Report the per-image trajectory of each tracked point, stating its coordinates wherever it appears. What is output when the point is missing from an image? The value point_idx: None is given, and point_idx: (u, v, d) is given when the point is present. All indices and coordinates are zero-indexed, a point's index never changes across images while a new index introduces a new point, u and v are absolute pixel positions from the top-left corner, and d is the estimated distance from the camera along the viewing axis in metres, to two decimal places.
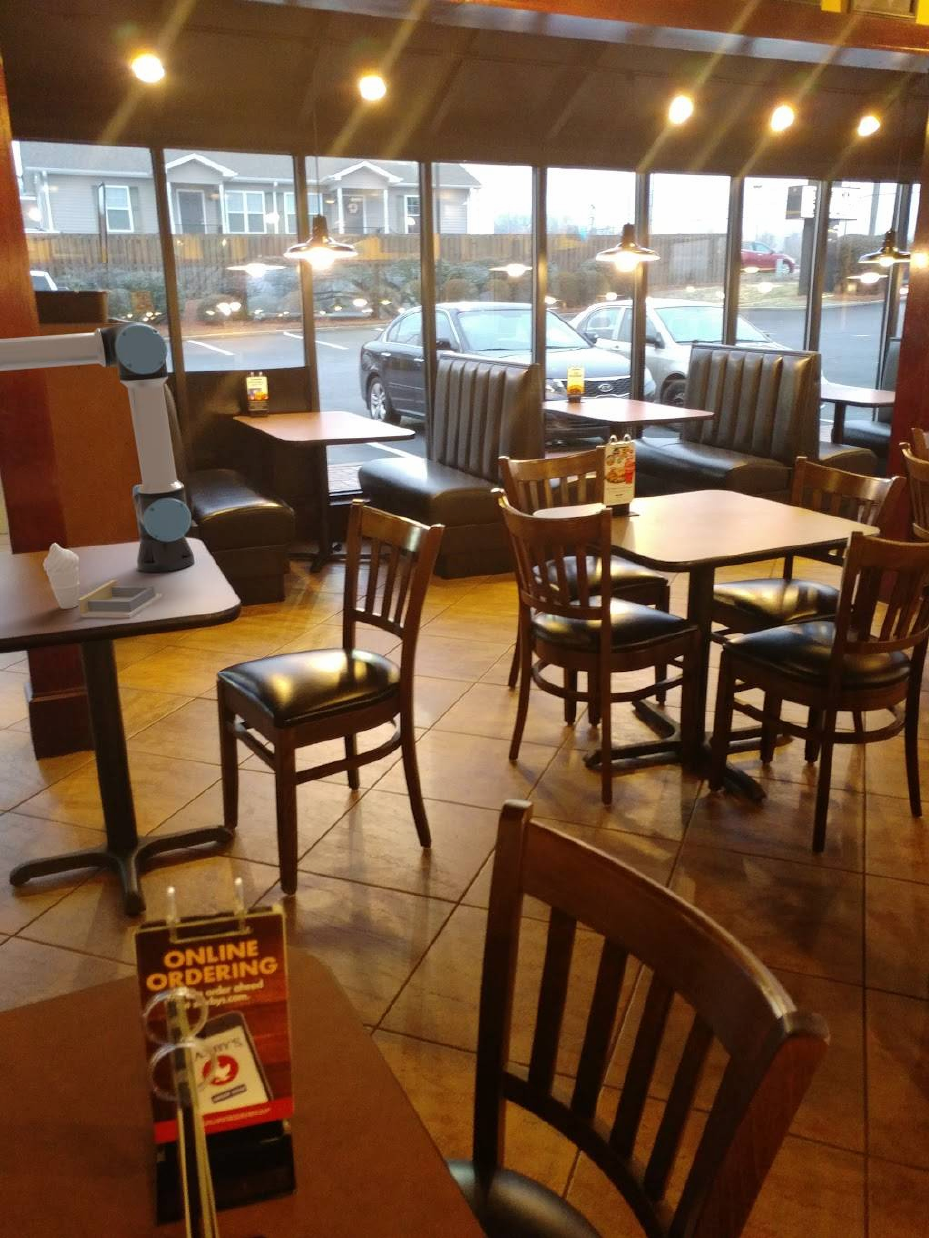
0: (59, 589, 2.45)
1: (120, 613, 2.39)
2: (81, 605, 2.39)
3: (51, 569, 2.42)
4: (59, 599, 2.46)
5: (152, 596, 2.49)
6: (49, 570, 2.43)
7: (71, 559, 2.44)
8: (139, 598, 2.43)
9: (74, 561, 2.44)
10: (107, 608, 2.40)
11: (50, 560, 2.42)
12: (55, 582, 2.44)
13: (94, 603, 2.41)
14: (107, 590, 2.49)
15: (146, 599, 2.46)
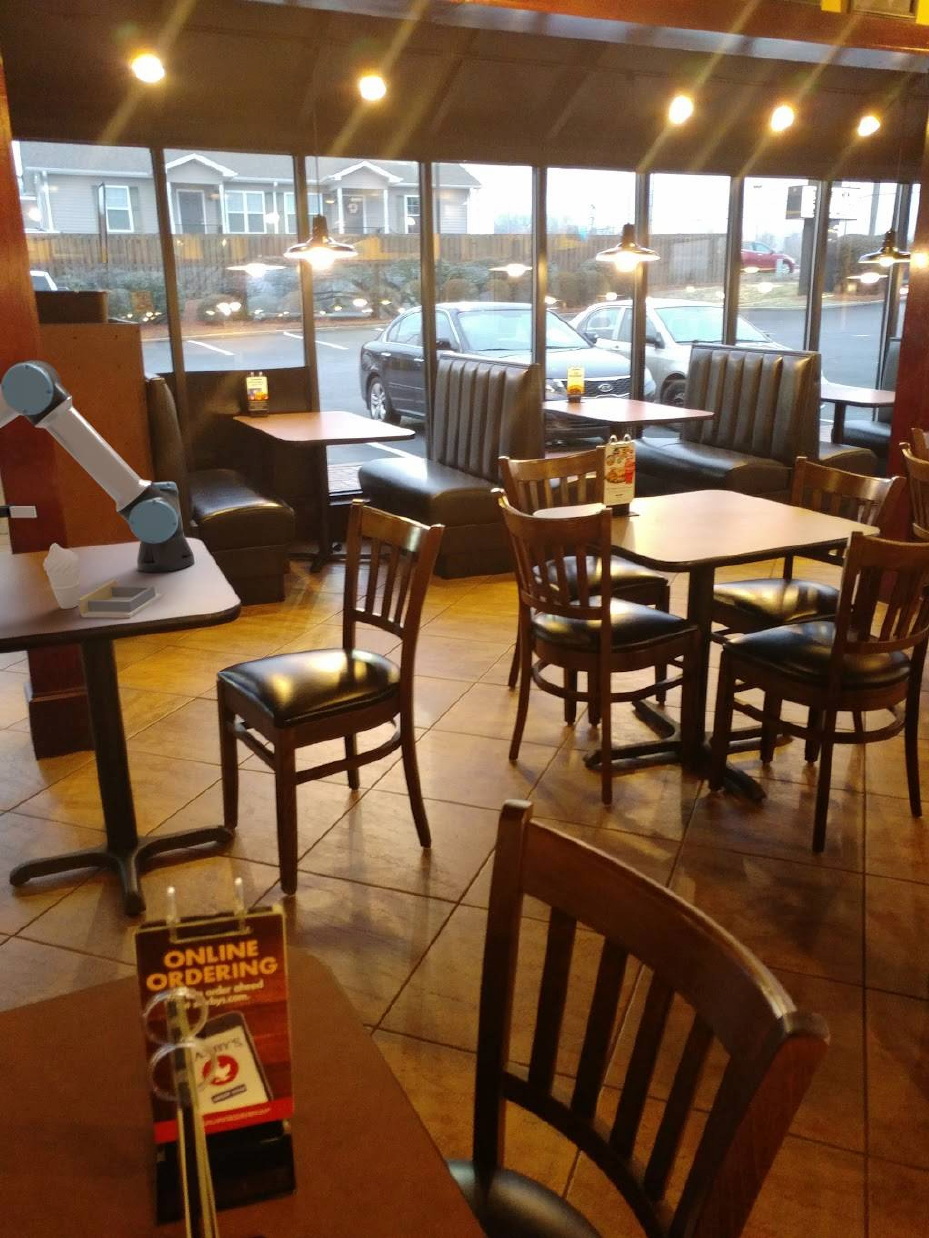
0: (59, 589, 2.45)
1: (120, 613, 2.39)
2: (81, 605, 2.39)
3: (51, 569, 2.42)
4: (59, 599, 2.46)
5: (152, 596, 2.49)
6: (49, 570, 2.43)
7: (71, 559, 2.44)
8: (139, 598, 2.43)
9: (74, 561, 2.44)
10: (107, 608, 2.40)
11: (50, 560, 2.42)
12: (55, 582, 2.44)
13: (94, 603, 2.41)
14: (107, 590, 2.49)
15: (146, 599, 2.46)
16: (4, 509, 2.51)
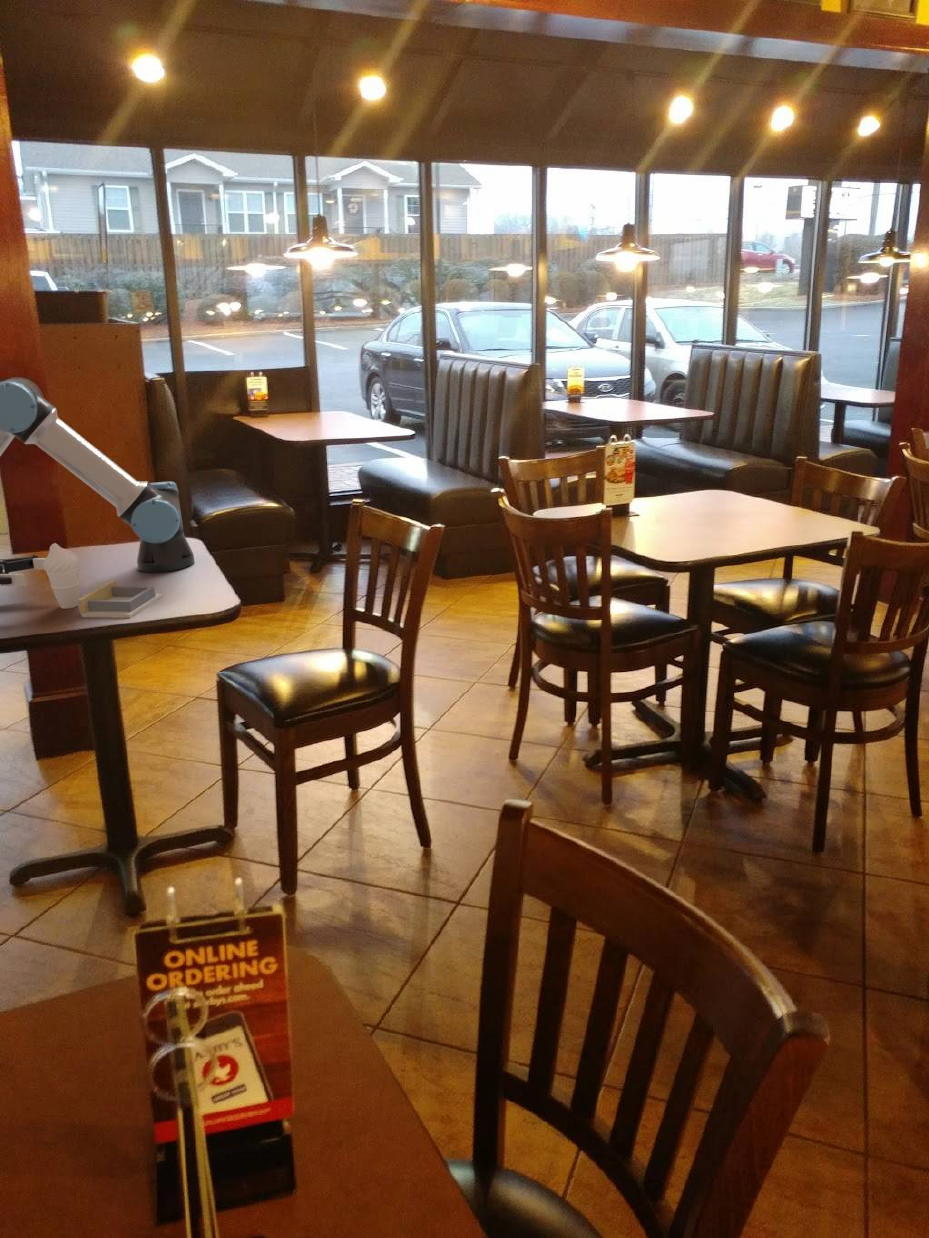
0: (59, 589, 2.45)
1: (120, 613, 2.39)
2: (81, 605, 2.39)
3: (51, 569, 2.42)
4: (59, 599, 2.46)
5: (152, 596, 2.49)
6: (49, 570, 2.43)
7: (71, 559, 2.44)
8: (139, 598, 2.43)
9: (74, 560, 2.44)
10: (107, 608, 2.40)
11: (50, 560, 2.42)
12: (55, 582, 2.44)
13: (94, 603, 2.41)
14: (107, 590, 2.49)
15: (146, 599, 2.46)
16: (27, 561, 2.54)
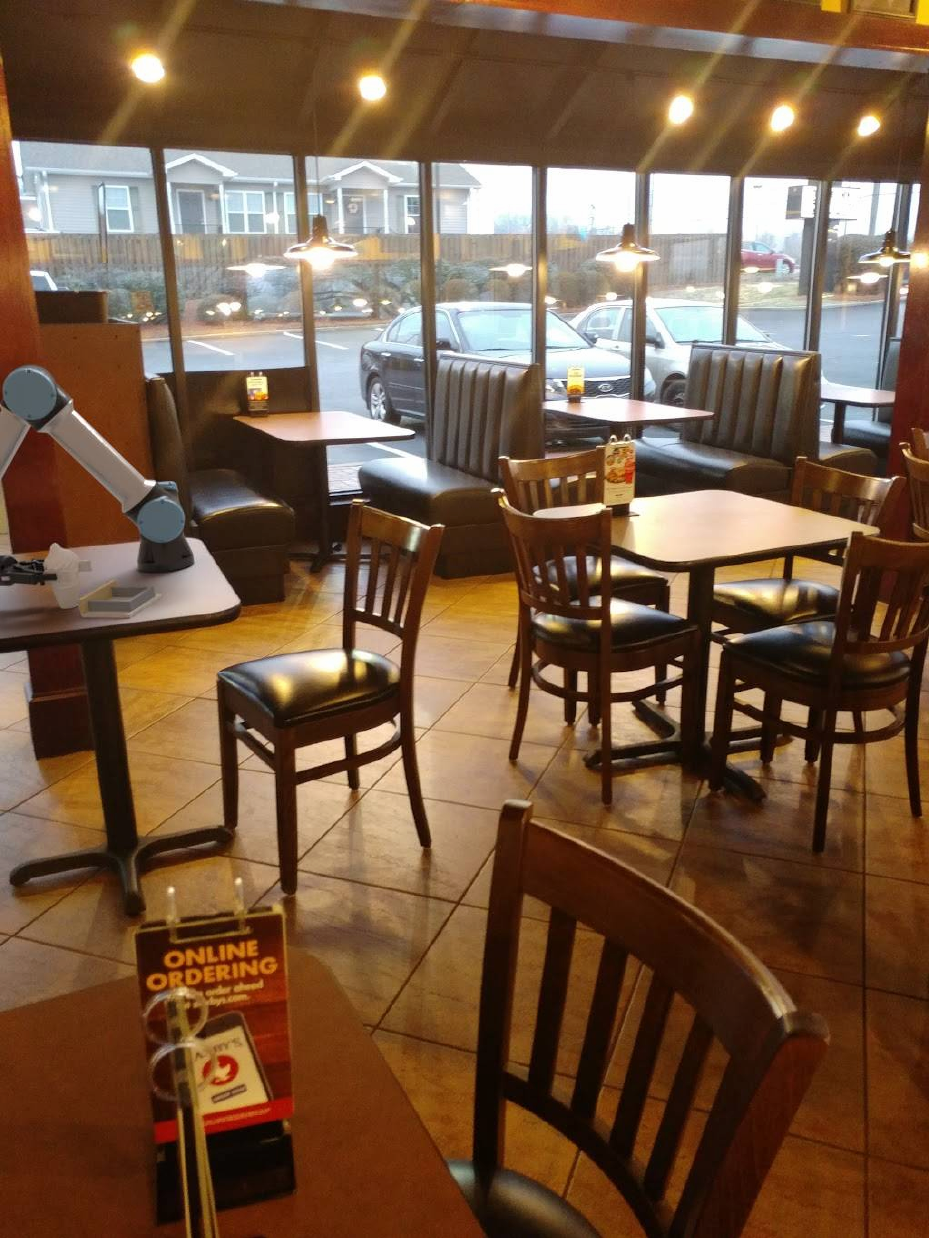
0: (59, 589, 2.45)
1: (120, 613, 2.39)
2: (81, 605, 2.39)
3: (51, 569, 2.42)
4: (59, 599, 2.46)
5: (152, 596, 2.49)
6: None
7: (71, 559, 2.44)
8: (139, 598, 2.43)
9: (74, 560, 2.44)
10: (107, 608, 2.40)
11: (50, 560, 2.42)
12: (55, 582, 2.44)
13: (94, 603, 2.41)
14: (107, 590, 2.49)
15: (146, 599, 2.46)
16: None
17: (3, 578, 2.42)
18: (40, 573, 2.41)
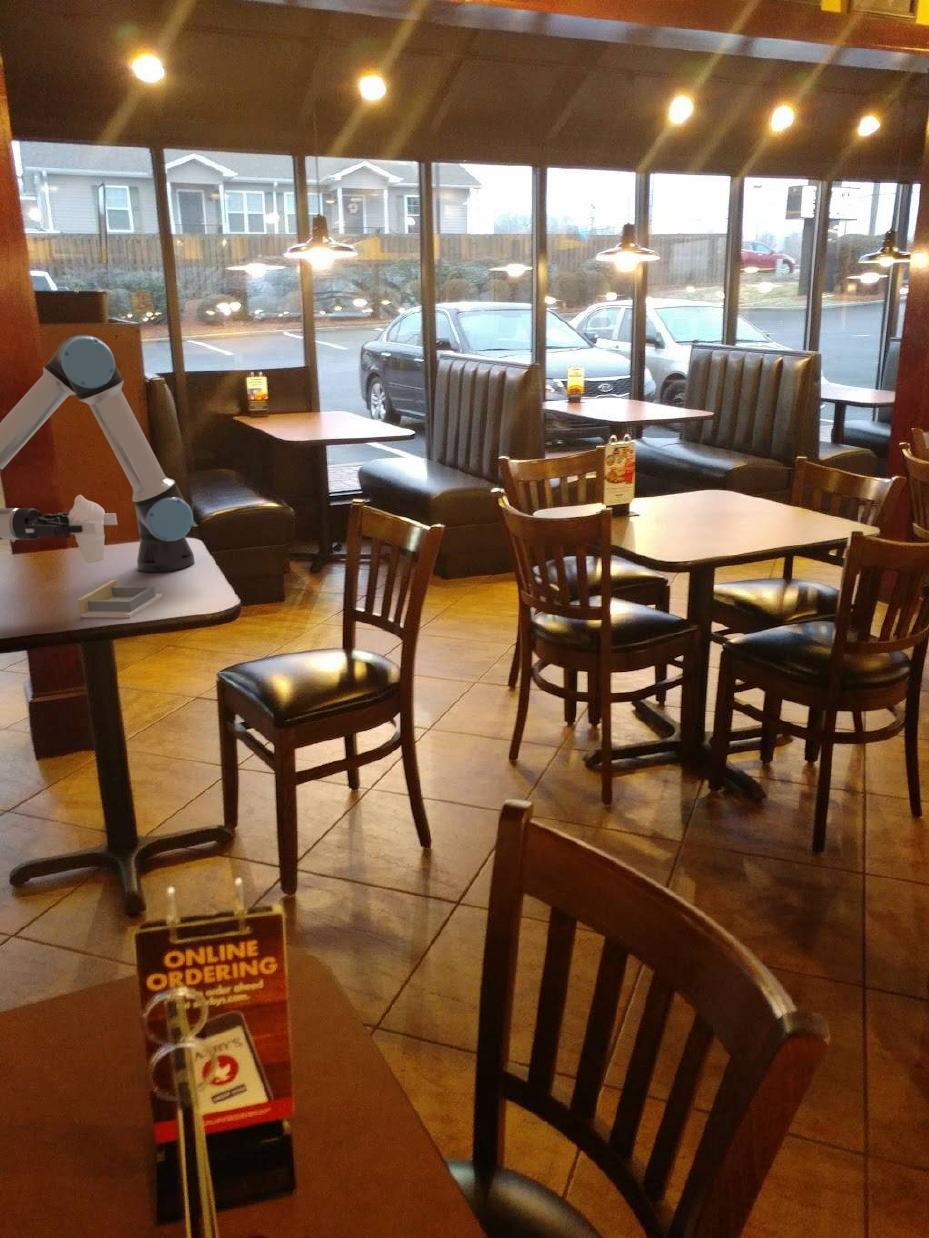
0: (84, 542, 2.38)
1: (120, 613, 2.39)
2: (81, 605, 2.39)
3: (76, 521, 2.36)
4: (84, 552, 2.40)
5: (152, 596, 2.49)
6: None
7: (96, 511, 2.37)
8: (139, 598, 2.43)
9: (99, 513, 2.38)
10: (107, 608, 2.40)
11: (75, 512, 2.36)
12: (80, 535, 2.38)
13: (94, 603, 2.41)
14: (107, 590, 2.49)
15: (146, 599, 2.46)
16: None
17: (27, 530, 2.36)
18: (65, 525, 2.35)
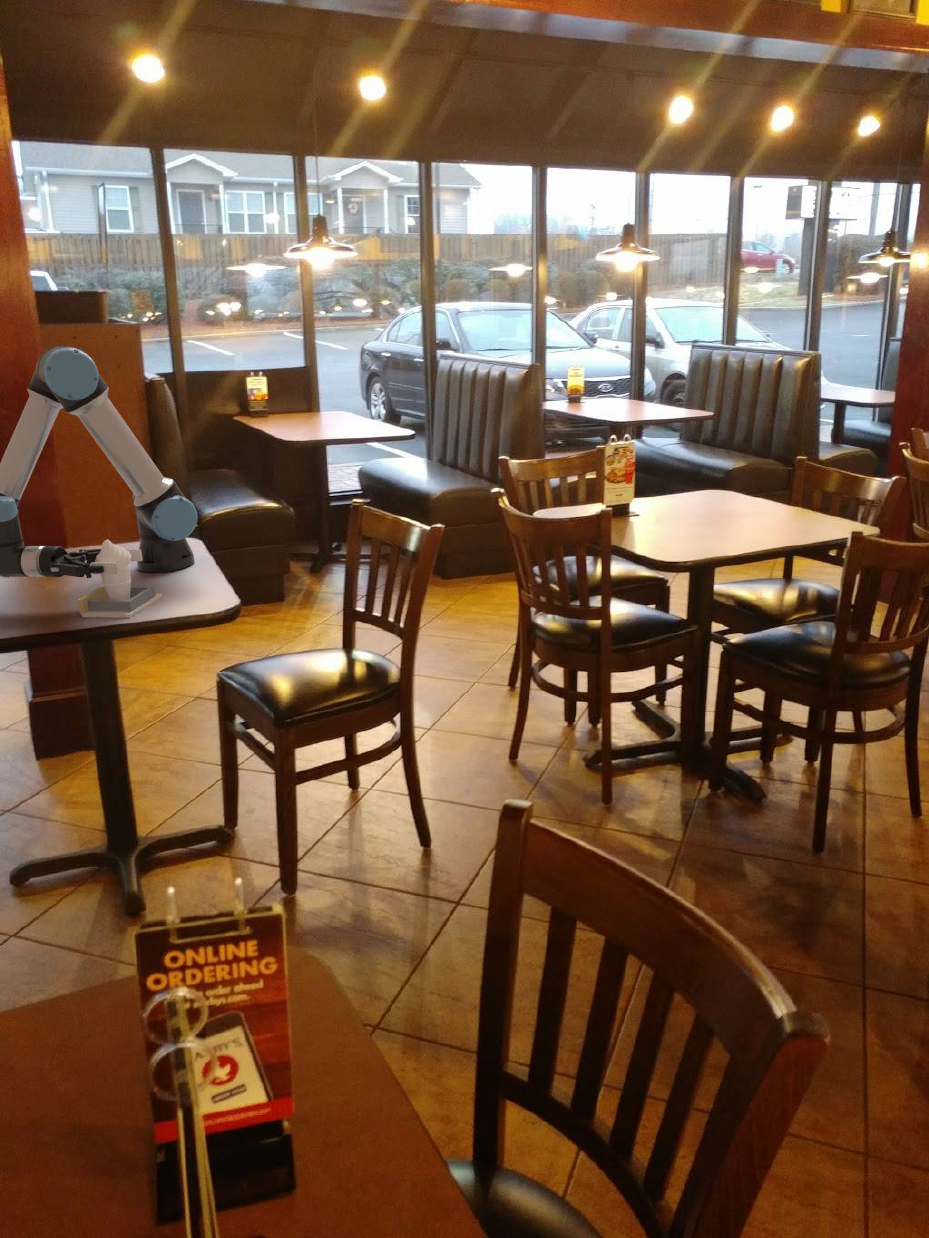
0: (111, 586, 2.42)
1: (120, 613, 2.39)
2: (81, 605, 2.39)
3: None
4: (111, 596, 2.43)
5: (152, 596, 2.49)
6: None
7: (124, 556, 2.41)
8: (139, 598, 2.43)
9: (126, 557, 2.41)
10: (107, 608, 2.40)
11: (103, 557, 2.39)
12: (107, 579, 2.41)
13: (94, 603, 2.41)
14: None
15: (146, 599, 2.46)
16: None
17: (52, 569, 2.39)
18: (86, 565, 2.37)
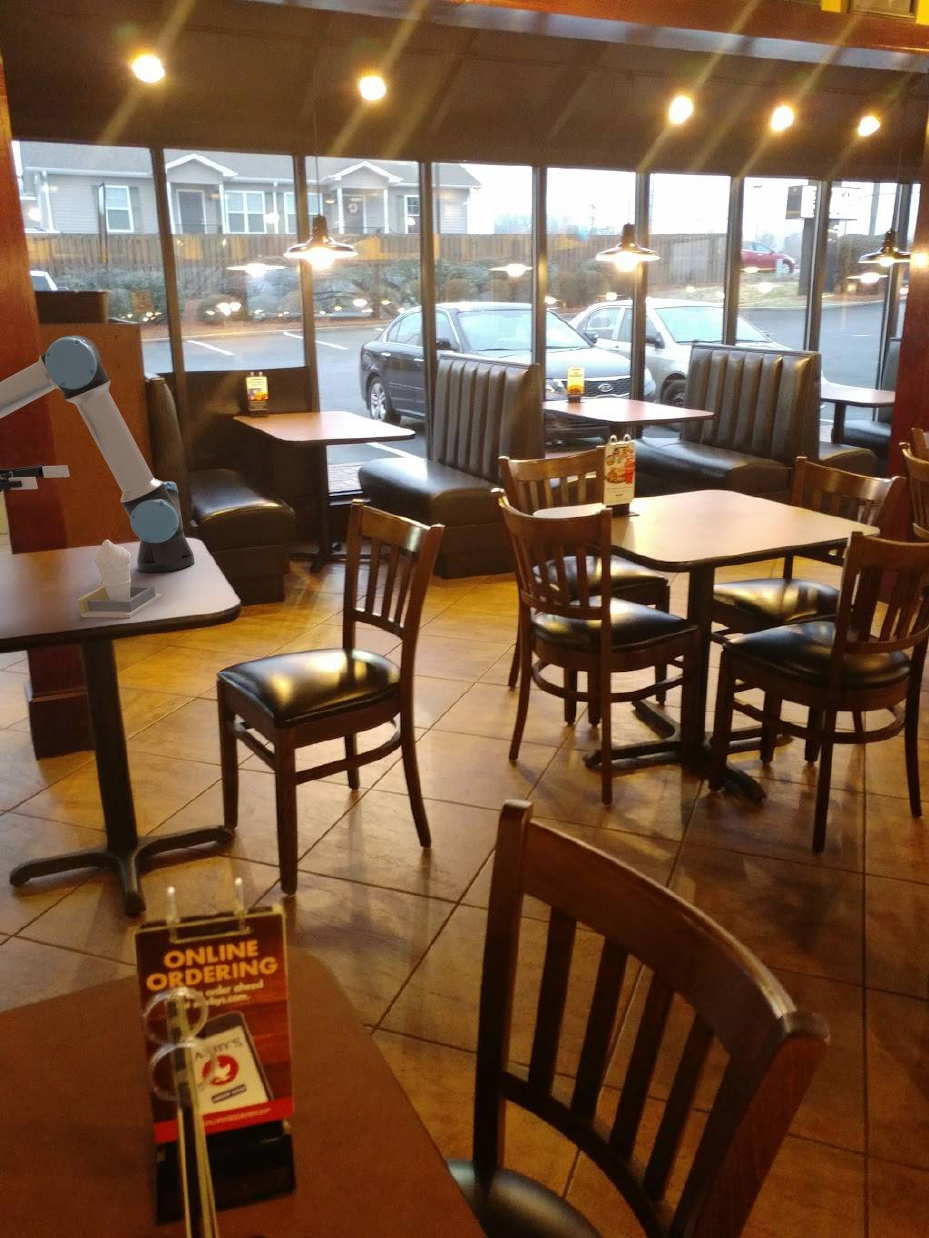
0: (111, 586, 2.42)
1: (120, 613, 2.39)
2: (81, 605, 2.39)
3: (104, 566, 2.39)
4: (111, 596, 2.43)
5: (152, 596, 2.49)
6: (101, 567, 2.40)
7: (123, 555, 2.41)
8: (139, 598, 2.43)
9: (126, 557, 2.42)
10: (107, 608, 2.40)
11: (102, 556, 2.40)
12: (107, 579, 2.41)
13: (94, 603, 2.41)
14: None
15: (146, 599, 2.46)
16: (37, 469, 2.49)
17: None
18: (4, 480, 2.36)
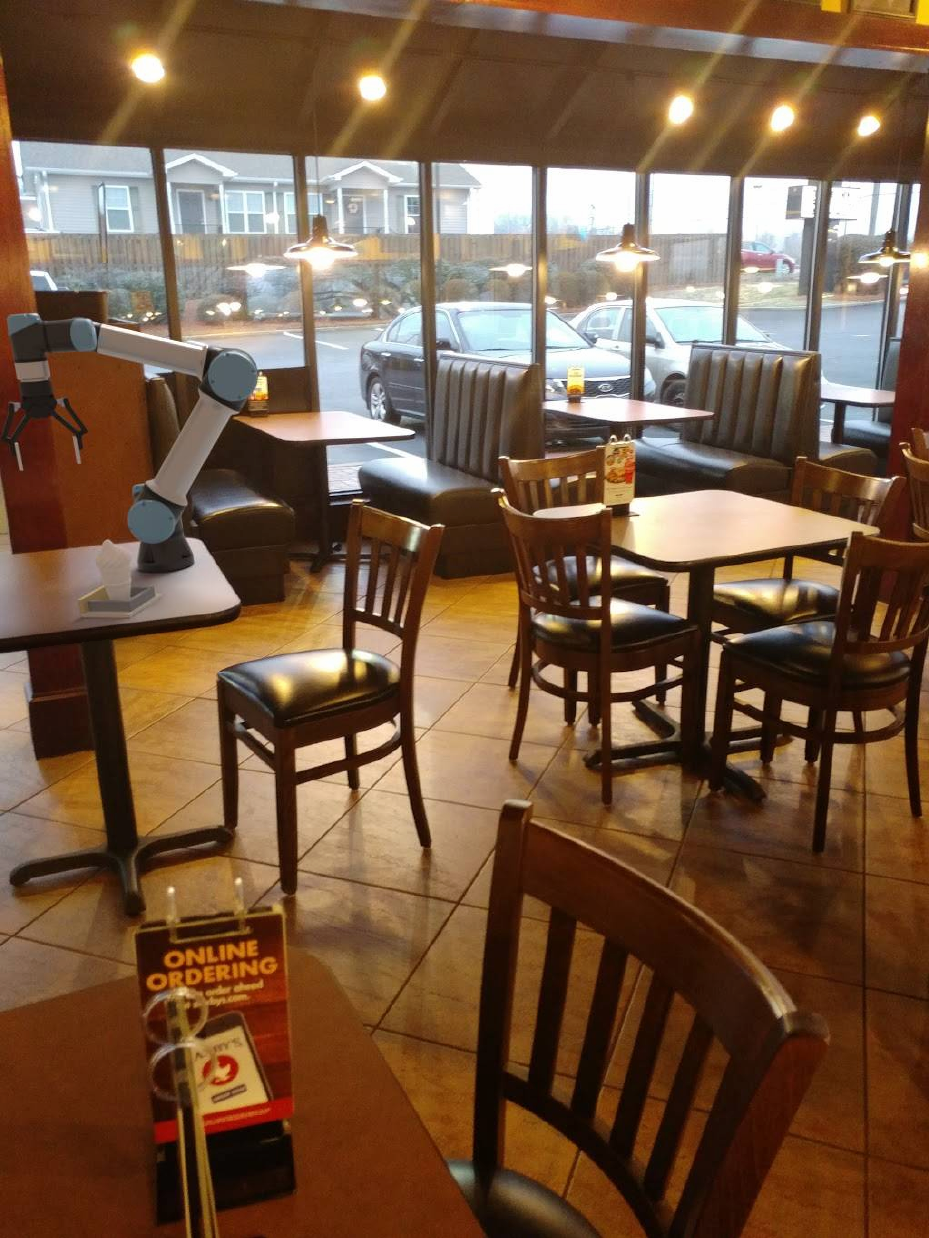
0: (111, 586, 2.42)
1: (120, 613, 2.39)
2: (81, 605, 2.39)
3: (104, 566, 2.39)
4: (111, 596, 2.43)
5: (152, 596, 2.49)
6: (102, 567, 2.40)
7: (124, 556, 2.41)
8: (139, 598, 2.43)
9: (127, 557, 2.41)
10: (107, 608, 2.40)
11: (103, 557, 2.40)
12: (107, 579, 2.41)
13: (94, 603, 2.41)
14: None
15: (146, 599, 2.46)
16: None
17: None
18: (9, 442, 2.48)
